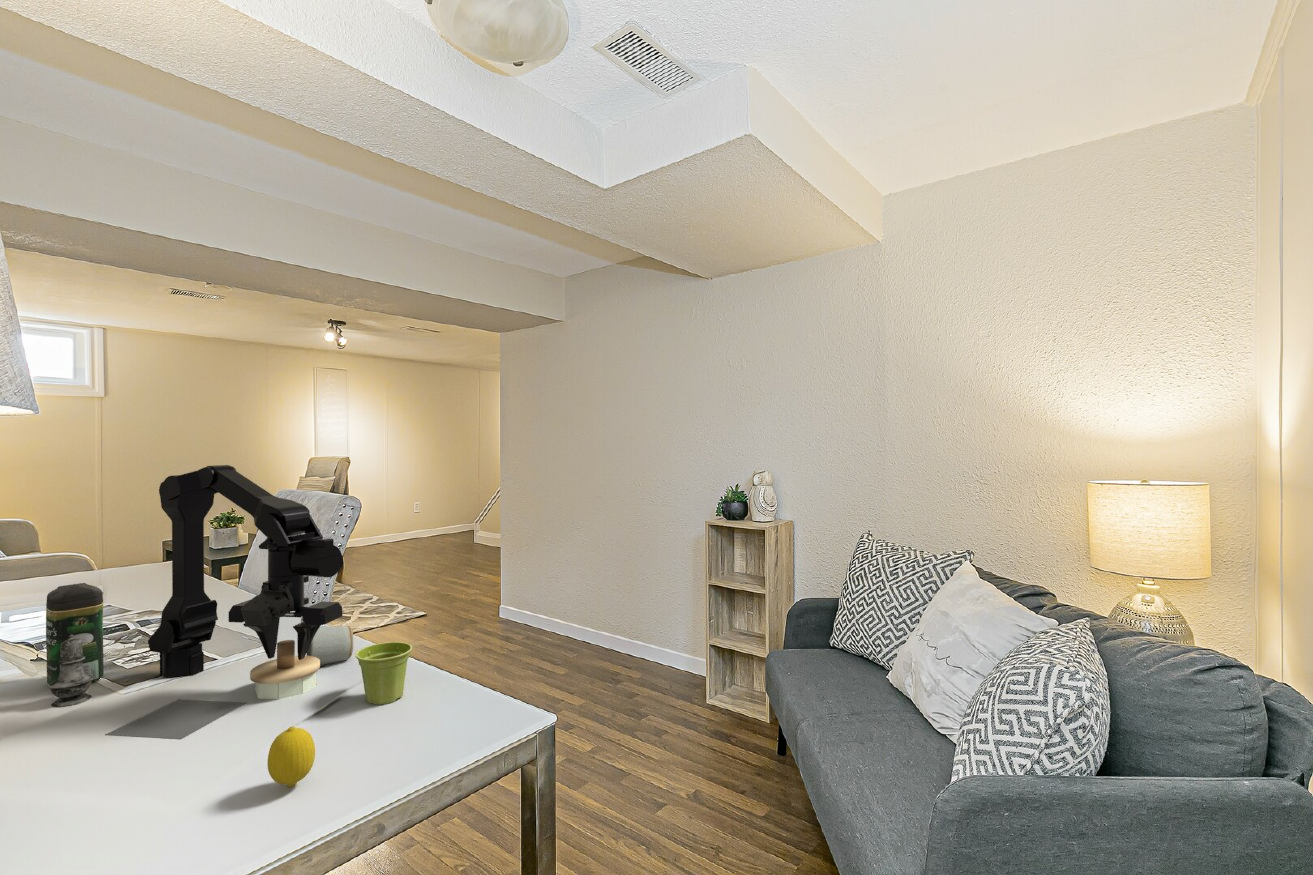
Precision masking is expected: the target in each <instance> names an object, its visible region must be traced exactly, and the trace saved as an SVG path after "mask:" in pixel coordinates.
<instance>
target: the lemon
mask: <svg viewBox="0 0 1313 875" xmlns="http://www.w3.org/2000/svg"><path fill="white" fill-rule="evenodd" d="M315 759H316V747H315V742H314V739H313V737H312V734H311V733H310V732H309V731H307V730H306V729H304V728H301V727H296V726H288V728H287V729H285V730H283V731H282V732H280V733H279V734H278V735H277V736H276V737H275V738H274V740H273V742H272V743H271V744H270V747H269V751H268V755H267V770H268V773H269V776H270V778H271V779H272V780H273V781H274V782H275V783H278V784H279V785H283V786H288V787H289V788H292V787H294V786H296V784H297V783H299V782H300V781H301V780H303V779H305V777H307V775H308V774H309V773H310V771H311V769H312V768H313V766H314V762H315Z"/></svg>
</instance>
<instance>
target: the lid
mask: <svg viewBox="0 0 1313 875" xmlns="http://www.w3.org/2000/svg"><path fill="white" fill-rule="evenodd" d="M295 650H296V642H295V640H294V639H286V640H281V641H277V645H276V658H275V659H270V660H267V661H265V662H263V663H259V664H258V665H256V666H254V667H253V668H252V669H251V670H250V672H249V679H250V681H251V682H253V683H262V684H273V683H282V682H288V681H293V680H297V679H300V678H303V677H306V676H309V675H311V674H313V673H315V672H316V673H317V671H319V669H320V668H321V665H320V659H318V658H316V657H313V656H307V655H305V657H304V659H302V660H299V659H298V655H295V654H296V651H295Z"/></svg>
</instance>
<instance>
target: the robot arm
mask: <svg viewBox="0 0 1313 875" xmlns="http://www.w3.org/2000/svg"><path fill="white" fill-rule="evenodd" d="M158 494H159V497H160V498H159V499H160V500H159V501H160V505H161V506H160V507H161V509H162V510H163V511H164V513H165V514H166V515H167V517H168V518H169V519H170V520H171V559H172V560H171V562H172V563H171V566H172V567H171V569H172V570H171V571H172V572H171V573H172V575H171V576H172V578H171V580H172V582H171V583H172V585H171V587H172V589H171V591H172V593H171V597H170V599H169V600H168V601H167V603H166V604H165V606H164V608H163V610H161V619H160V625H159V626H158V627H157V629H156V630H155V631H154V632H153V634H152V635H151V636H150V637H149V638H148V640H147V645H148V648H149V651H150V652H153V653H159V676H162V678H165V679H177V678H183V677H193V676H196V675H198V674H200V673H203V672H204V671H205V669H204V668H205V666H204V664H205V662H204V660H205V657H204V654H205V652H204V651H203V643H204V642H207V641H210V640H211V639H212V636H213V632H214V630H215V627H216V625H217V624H216V622H217V621H218V620H219V617H218V612H217V610H218V602H217V600H216V599H211V598H210V596H208V594H206V592H205V530H204V529H205V518H206V516H207V515H208V513H209V512H210V510H211V509H212V507H213V505H214V502H215V501H214V500H215V495H217V494H220V495H221V496H223V497H224V498H226V499H228V500H229V501H230V502H232V503H233V504H234V505H236V506H238V507H239V508H241V509H242V510H243V511H245V512H246V513H247V514H248V515H251V517H252V518H253V522H254V524H253V525H254V526H255V527H256V528H257V529H258V530H259V531H260V532H261V533H262V534H263V535H264V536H265V537H266V539H265V540H263V542H261V543H260V544H258V548H259V550H267V580H266V581H264V582H262V584H261V589H260V590H261V591H260V593H259V594H257V595H256V596H254V597H252V599H251V598H250V599H248V600H245V601H242V602H240V603H236V604H233V605H232V606H231V607H230V609H229V611H228V623H242V625H243V626H244V627H245V628H249V629H251V630H252V631H254V632H255V633H256V635H257V636H258V638H259V640H260V643H261V645H262V648H263V650H264V652H265V654H266V656H267V659H269V660H272V659H273V658H275V655H276V652H277V643H278V637H279V628H280V627H279V626H280V620H281V619H280V618H300V623H298V624H295V625H293V626H292V628H293V629H294V631H295V632H296V634H297V636H296V637H297V640H296V641H297V645H296V646H297V648H296V649H297V656H298V659H299V660H302V659H304V657H305V656H307V651H308V649H309V646H310V644H311V642H312V640H313V638H314V636H315V634H316V632H317V631H318V629H319V627H321V626H324V625H325V626H326V625H327V624H329V623H331V622H333V621H336V620H337V619H339V618H342V617H343V605H341V603H340V602H339V601H320V602H318V603H315V604H312V605H309V606H305V605H308V604H309V603H310V601H309V600H310V599H309V597H305V584H306V583H309V582H310V577H316V578H333V577H334V576H335V575H337V573H339V571H340V570H341V568H342V565H343V560H344V556H343V554H342V552H341V549H340V548H339V547H338V546H336V545H335V543H334V542H335V541H334V538H330V537H329V538H324V537H323V534H322V533H321V530H320V529H319V527H318V525H317V524H316V523H315V521H314V519H313V517H312V515H311V513H310V512H311V511H310V510H309V508H308V507H307V506H306V505H304V504H302V503H300V502H297V501H294V500H292V499H287V498H284V497H283V498H282V497H278V496H275V495H273V494H272V493H270V492H268V491H267V490H266V489H264V488H263V487H261V486H259V485H258V484H256V483H255V482H254V481H252V480H250V479H249V478H248V477H246V476H244V475H243V474H241V473H240V472H238V471H237V469H236V468H235V467H234V466H232V465H229V464H217V465H207V466H205V467H202V468H200V469H198V470H194V471H190V472H187V473H183V474H179V475H169V476H167V477H165V478H164V480H163V481H161V483H160V484H159V489H158Z"/></svg>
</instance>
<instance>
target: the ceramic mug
mask: <svg viewBox="0 0 1313 875" xmlns="http://www.w3.org/2000/svg"><path fill="white" fill-rule="evenodd" d="M353 651H354V633H353V629H352V627H351V626H349V625H344V624H343V625H332V626H322V627H321V626H320V627H319V629H318V631H317V632H316V634H315V636H314V638H313V640H312V642H311V644H310V646H309V649H308V651H307V653H306V656H313V657H316V658H318V659H320V666H322V665H323V666H324V665H327V664H333V663H339V662H344V661H347V660H349V659H350V658H351V657H352V656H353V653H354V652H353Z"/></svg>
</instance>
